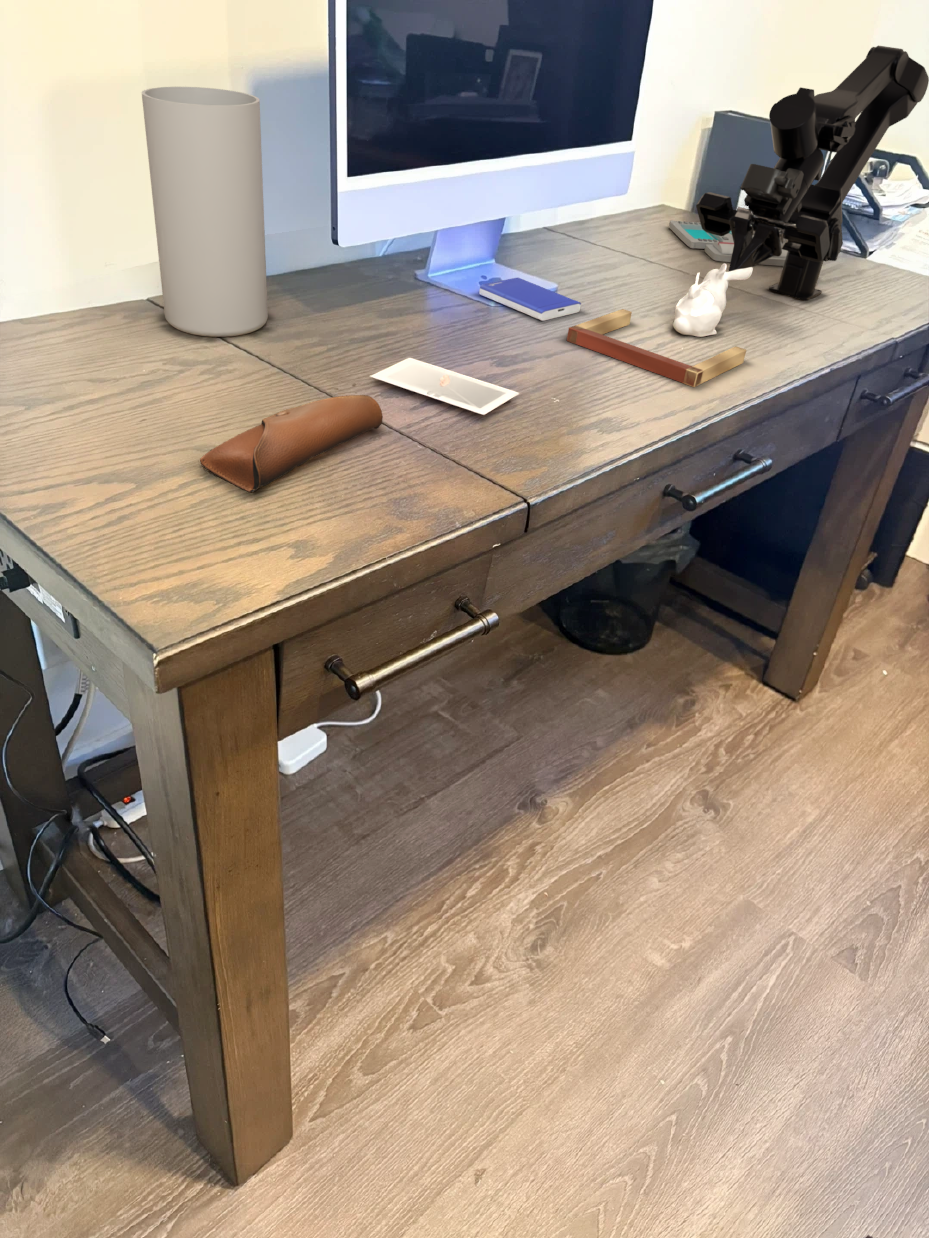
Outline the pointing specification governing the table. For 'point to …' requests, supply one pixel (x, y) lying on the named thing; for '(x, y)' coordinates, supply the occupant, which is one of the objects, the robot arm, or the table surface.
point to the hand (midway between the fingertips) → (730, 276)
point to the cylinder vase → (208, 208)
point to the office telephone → (714, 242)
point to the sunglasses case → (291, 439)
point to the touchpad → (446, 385)
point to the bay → (693, 376)
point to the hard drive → (530, 298)
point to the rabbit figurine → (706, 302)
